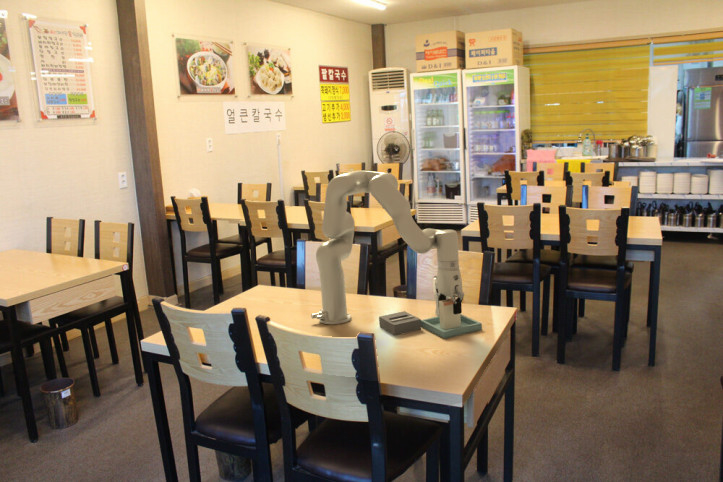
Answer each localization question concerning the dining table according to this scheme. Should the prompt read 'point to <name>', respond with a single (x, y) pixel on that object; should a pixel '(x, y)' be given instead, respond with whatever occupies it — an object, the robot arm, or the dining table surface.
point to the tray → (466, 327)
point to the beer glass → (436, 295)
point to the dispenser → (400, 323)
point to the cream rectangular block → (448, 315)
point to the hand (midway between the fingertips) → (449, 310)
